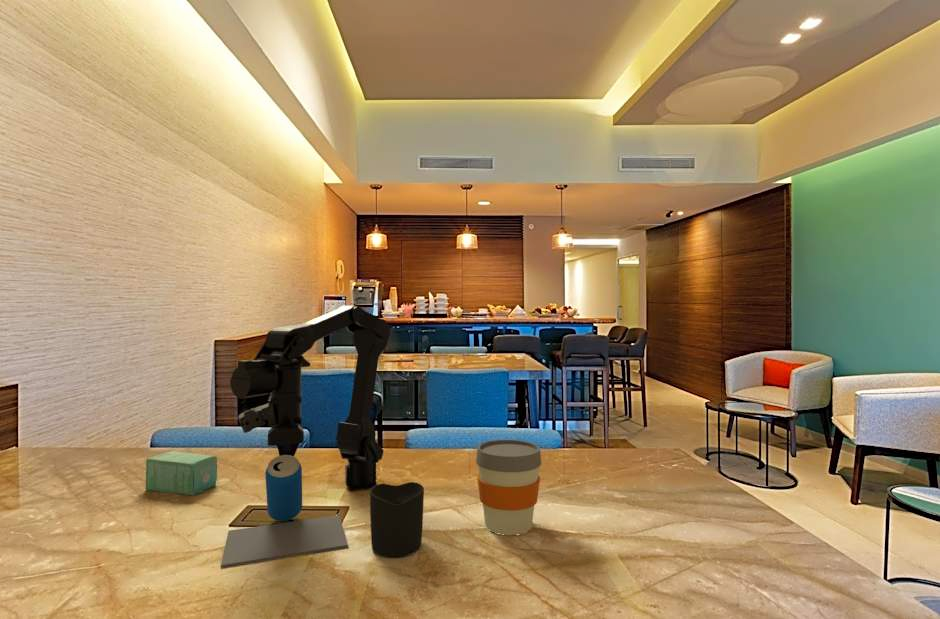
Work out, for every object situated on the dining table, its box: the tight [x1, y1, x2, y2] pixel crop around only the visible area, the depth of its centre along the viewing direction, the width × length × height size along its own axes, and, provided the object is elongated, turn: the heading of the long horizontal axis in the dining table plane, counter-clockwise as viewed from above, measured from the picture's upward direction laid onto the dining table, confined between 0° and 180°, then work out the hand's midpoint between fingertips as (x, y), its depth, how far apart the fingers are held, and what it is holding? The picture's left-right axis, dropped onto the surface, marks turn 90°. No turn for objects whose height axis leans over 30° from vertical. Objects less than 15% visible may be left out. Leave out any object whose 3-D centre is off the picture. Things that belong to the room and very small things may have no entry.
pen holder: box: [369, 481, 425, 559], centre depth 88 cm, size 9×9×10 cm
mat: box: [220, 514, 349, 568], centre depth 90 cm, size 20×14×1 cm
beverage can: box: [264, 455, 303, 522], centre depth 97 cm, size 6×6×12 cm
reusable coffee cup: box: [475, 439, 542, 536], centre depth 97 cm, size 12×13×15 cm
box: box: [145, 450, 218, 497], centre depth 116 cm, size 7×14×8 cm, turn 75°
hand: (285, 470), depth 99 cm, fingers closed
